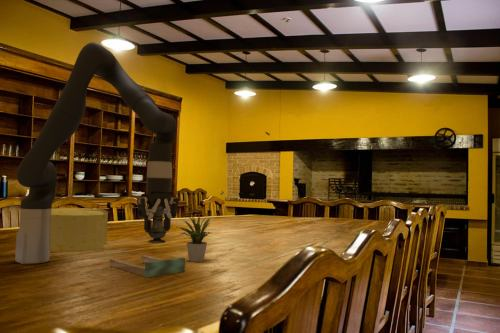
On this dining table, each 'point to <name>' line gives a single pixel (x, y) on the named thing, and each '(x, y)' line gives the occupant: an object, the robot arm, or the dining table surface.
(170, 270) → the guide channel
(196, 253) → the house plant
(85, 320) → the dining table surface
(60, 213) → the cheese
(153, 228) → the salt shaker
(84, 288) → the dining table surface
